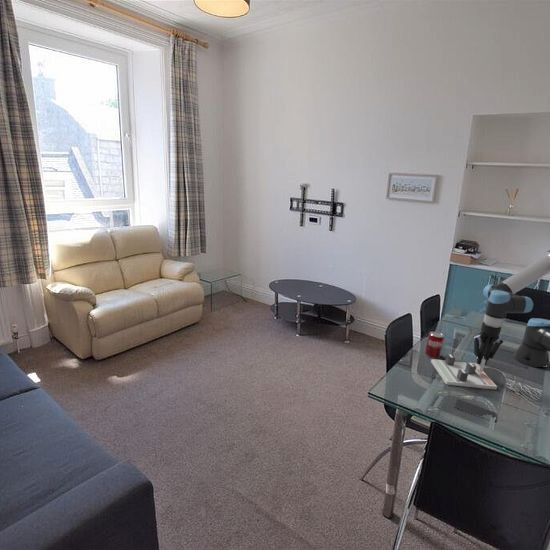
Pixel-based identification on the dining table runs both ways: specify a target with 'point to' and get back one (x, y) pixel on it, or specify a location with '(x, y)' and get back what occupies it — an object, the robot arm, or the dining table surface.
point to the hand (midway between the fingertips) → (479, 370)
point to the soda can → (434, 344)
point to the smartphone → (473, 408)
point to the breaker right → (462, 375)
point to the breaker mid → (470, 368)
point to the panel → (451, 373)
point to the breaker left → (450, 359)
